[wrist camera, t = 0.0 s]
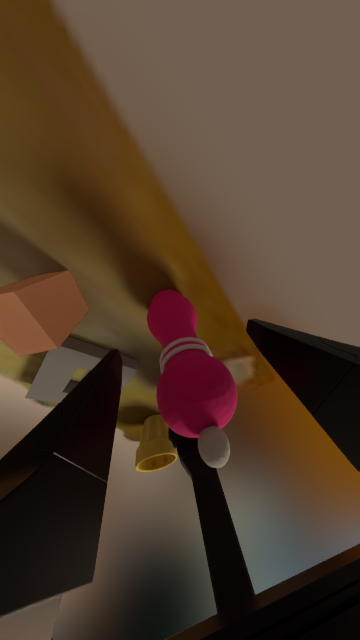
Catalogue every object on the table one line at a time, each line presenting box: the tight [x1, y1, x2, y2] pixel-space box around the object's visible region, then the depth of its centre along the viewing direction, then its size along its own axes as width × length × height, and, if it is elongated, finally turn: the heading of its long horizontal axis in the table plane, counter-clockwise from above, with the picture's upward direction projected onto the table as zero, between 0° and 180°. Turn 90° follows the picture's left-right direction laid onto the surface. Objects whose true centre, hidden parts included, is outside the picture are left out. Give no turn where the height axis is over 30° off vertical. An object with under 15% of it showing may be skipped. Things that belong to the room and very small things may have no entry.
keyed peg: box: [0, 270, 89, 356], centre depth 16 cm, size 6×4×9 cm, turn 7°
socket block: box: [25, 336, 138, 403], centre depth 26 cm, size 14×14×3 cm
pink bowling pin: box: [147, 289, 237, 468], centre depth 15 cm, size 7×7×20 cm
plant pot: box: [135, 414, 177, 472], centre depth 38 cm, size 10×10×10 cm
